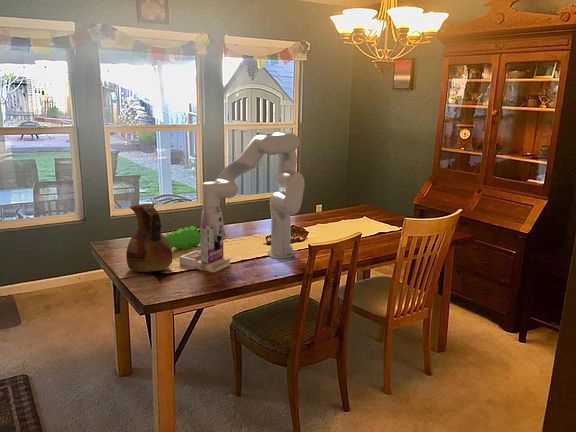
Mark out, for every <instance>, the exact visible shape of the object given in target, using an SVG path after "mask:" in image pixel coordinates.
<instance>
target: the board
mask: <svg viewBox="0 0 576 432" xmlns="http://www.w3.org/2000/svg"><path fill="white" fill-rule="evenodd" d="M229 266H231V258H229V257H225V256H224V257H223V258H221V259H218V260H216V261H214V262H212V263H209V264H208V263H204V262H201V260H199V261H197V262H196V268H195V269H196V270H201V271H205V272H208V273H209V272H210V273H216V272H219V271H221V270H223V269H224V268H227V267H229Z"/></svg>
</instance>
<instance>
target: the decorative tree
mask: <svg viewBox="0 0 576 432" xmlns="http://www.w3.org/2000/svg"><path fill="white" fill-rule="evenodd" d="M198 230H199V229H198V227H197V226H193V225H191V226H190V227H187V226H185V227H184V228H179V229H177V230H176V231H173V230H172V231H171V232H166V233H165V234H164V235H163V236H164V237H165V238H166V239H167V241H168V242H169V244H170V247H171V250H172V249H173V248H175V249H181V250H186V248H189V249H191V248H192V247H198V246H199V245H200V233H199V232H198Z"/></svg>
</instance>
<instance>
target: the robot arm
mask: <svg viewBox="0 0 576 432" xmlns="http://www.w3.org/2000/svg"><path fill="white" fill-rule="evenodd" d="M248 143H249V144H248V145H247V146H246V147H245V148H244V150H243V151H242V152H241V154H240V155H239V156H238V157H237V158H236V159H235V160H234V161H232V162H231V163H230V164H227V166H225V167H224V169H222V171H220V173H219V174H218V176H217V177H216V178H215V179H214V181H204V182H203V183H202V184H201V185H202V187H201V188H202V212H201V216H200V227H202V226H210V227H213V234H214V236H215V241H216V242H214V245H215V251H216V250H219V249H220V241H221V240H222V239H223V240H224V238H225V237H226V236H227V234H226V233H225V226H224V224H225V223H224V217H223V213H222V208H221V203H220V202H221V199H220V198H224V199H232V198H235V197H236V196H237V194H238V192H239V187H238V185H237V184H236V183H235V182H234V181H235V180H236V179H238V177H240V176H242V175H244V174H246V173H250V172H251V171H253V170H254V169H255V167H256V166H257V164H258V163H259V162H260V161H261V160H262V159H263V157H264V156H265V155H266V156H267V155H268V156H273V155H274V156H275V155H278V166H277V172H276V177H275V184H276V186H278V188H280V189H281V190H285V191H281V190H279V191H275V192H273V193H272V195H271V196H270V199H269V208H270V215H271V216H270V217H271V218H270V220H271V221H270V223H271V224H270V225H271V226H270V250H269V251H268V252H267V256H268V257H270V258H272V259H278V260H279V259H281V260H282V259H290V258H292V257H293V256H296V255H297V254H298V252H297V251H298V250H297V249H293V246H292V245H291V234H292V233H291V231H292V230H291V228H292V227H291V225H292V224H291V223H292V218H291V217H292V216H293V215H296V214H298V212H299V211H300V209H301V207H302V203H303V196H304V190H305V184H306V183H305V178H304V176H303V175H302V173H300V172H298V171H297V170H296V169H297V162H298V155H297V152H296V151H297V149H298V148H299V146H300V138H299V136H298V135H296V134H295V133H293V132H287V131H276V132H274V133H272V134H271V135H267V134H266V135H265V134H257V135H255V136H254V137H253V138H252V139H251V141H250V142H248ZM198 232H199V233H200V228H199V229H198ZM220 234H221V236H220ZM217 236H218V237H217Z"/></svg>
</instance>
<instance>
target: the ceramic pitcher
mask: <svg viewBox="0 0 576 432" xmlns="http://www.w3.org/2000/svg"><path fill="white" fill-rule="evenodd" d="M154 206H155V203H140V204H138V203H137V204H133V205H132V206H129V209H130V210H132V211H133V212H134V214H135V216H136V217H135V218H136V221H137V230H136V232H135V233H134V234H133V235H132V236H131V238H130V240H129V241H128V244H127V247H126V255H125V257H126V264H127V266H128V269H129V270H132V271H134V272H141V273H142V272H143V273H145V272H147V273H148V272H156V271H164V270H166V269H167V270H168V268H169V267H170V266H171V264H172V262H173V251H172V249H171V247H170V244H169V242H168V241H167V239H166V238H165V237H164V235H163V234H162V233H161V230H162V229H161V227H162V222H161V218H160V214H159V212H158V210H156V208H155V207H154Z"/></svg>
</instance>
